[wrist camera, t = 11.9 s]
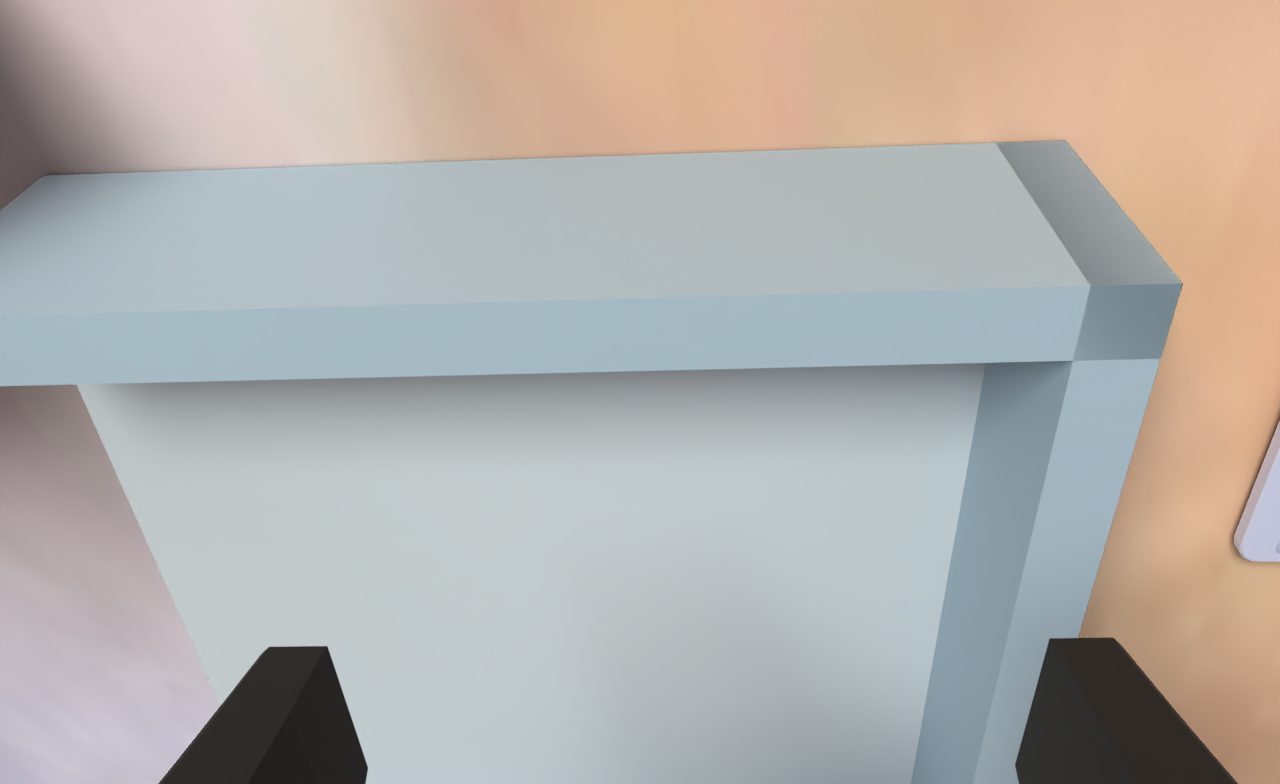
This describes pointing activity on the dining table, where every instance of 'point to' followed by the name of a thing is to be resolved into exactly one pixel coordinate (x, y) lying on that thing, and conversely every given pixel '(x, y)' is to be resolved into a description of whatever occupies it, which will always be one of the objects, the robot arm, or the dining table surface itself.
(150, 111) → the dining table surface
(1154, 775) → the robot arm
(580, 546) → the bay
